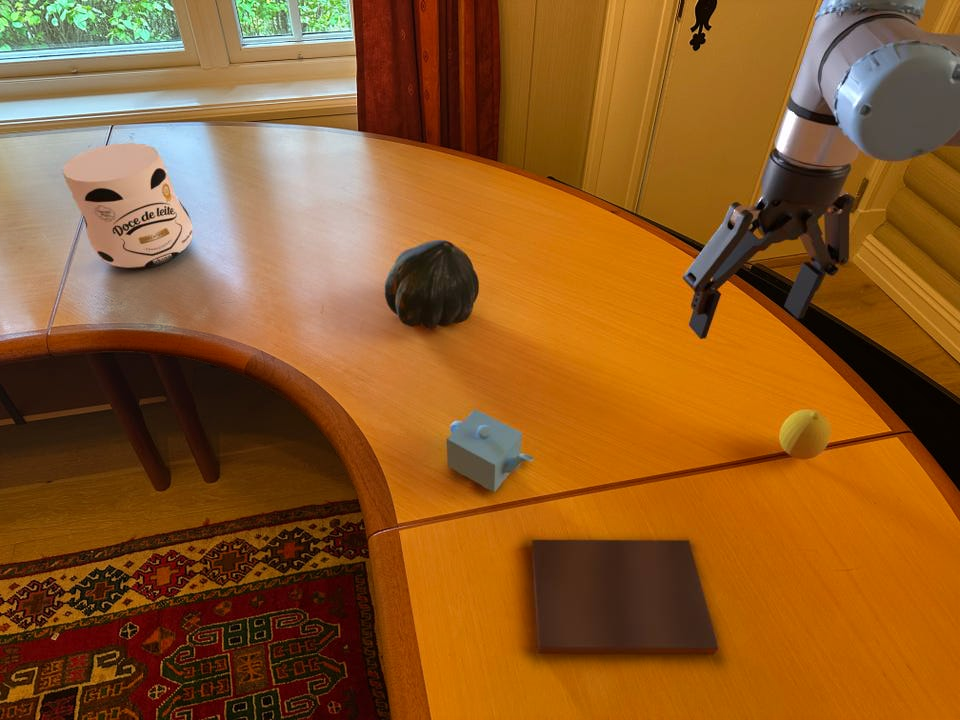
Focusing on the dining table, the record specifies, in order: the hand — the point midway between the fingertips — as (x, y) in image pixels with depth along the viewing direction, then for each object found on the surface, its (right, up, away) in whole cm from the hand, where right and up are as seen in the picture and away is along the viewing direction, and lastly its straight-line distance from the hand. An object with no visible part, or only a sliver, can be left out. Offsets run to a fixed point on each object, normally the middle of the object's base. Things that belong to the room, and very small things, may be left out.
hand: (746, 321), depth 74 cm
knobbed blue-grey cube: (-31, -19, +4) cm, 37 cm away
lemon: (+9, -17, +6) cm, 20 cm away
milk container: (-96, +16, +42) cm, 106 cm away
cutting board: (-18, -30, -8) cm, 36 cm away
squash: (-40, +3, +28) cm, 49 cm away
